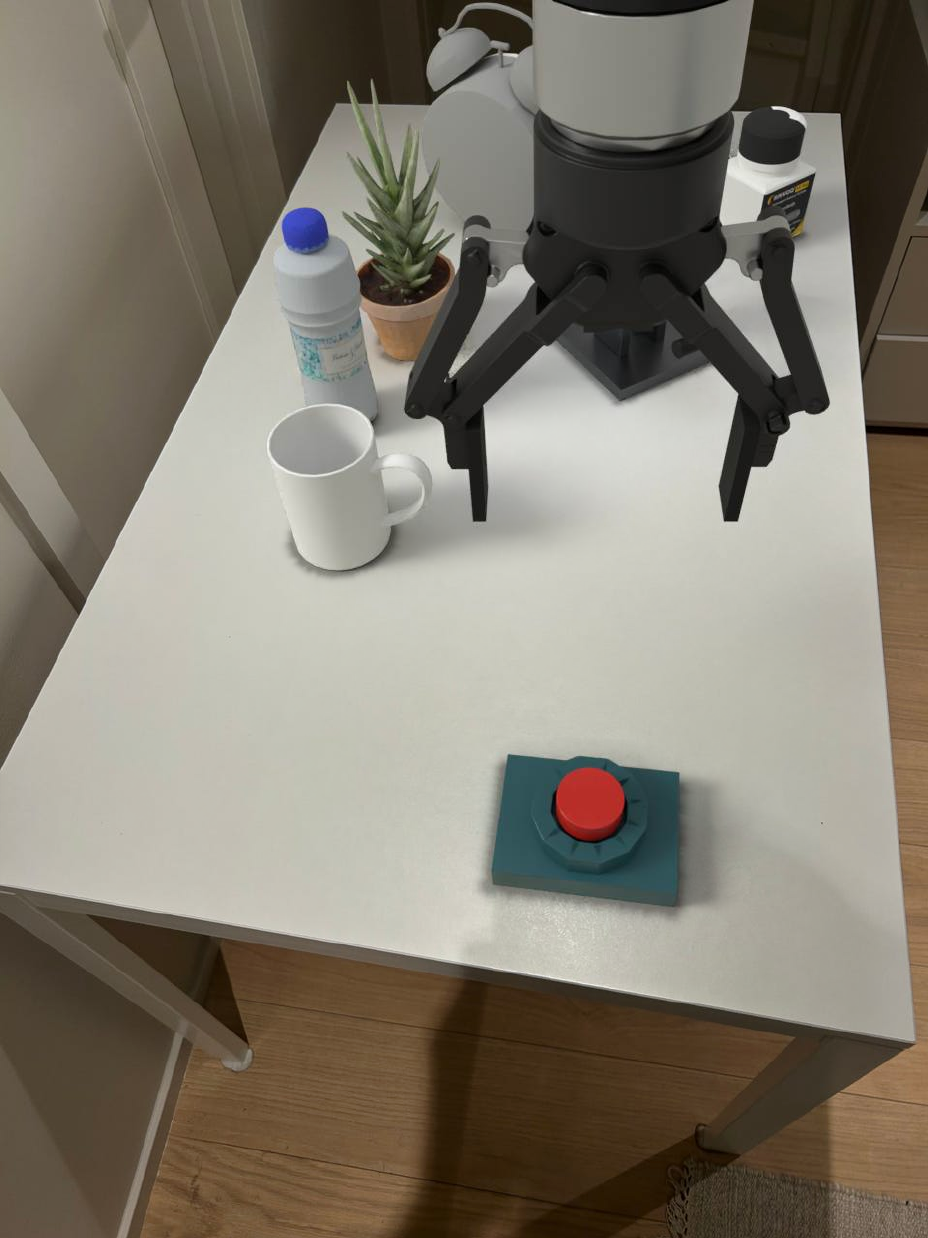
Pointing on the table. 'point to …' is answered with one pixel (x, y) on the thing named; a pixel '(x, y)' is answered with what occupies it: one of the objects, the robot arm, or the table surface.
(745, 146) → the medicine bottle
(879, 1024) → the table surface
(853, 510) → the table surface
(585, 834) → the button
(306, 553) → the mug
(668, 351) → the lever stand
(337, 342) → the bottle
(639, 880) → the teal button base
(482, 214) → the alarm clock
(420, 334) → the potted plant
